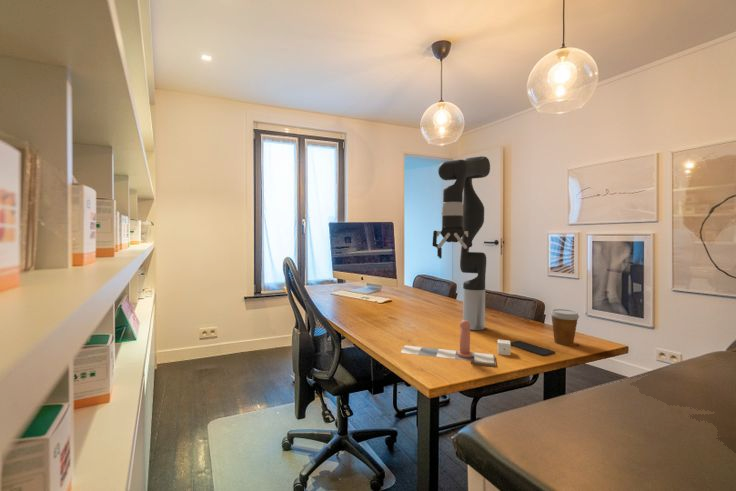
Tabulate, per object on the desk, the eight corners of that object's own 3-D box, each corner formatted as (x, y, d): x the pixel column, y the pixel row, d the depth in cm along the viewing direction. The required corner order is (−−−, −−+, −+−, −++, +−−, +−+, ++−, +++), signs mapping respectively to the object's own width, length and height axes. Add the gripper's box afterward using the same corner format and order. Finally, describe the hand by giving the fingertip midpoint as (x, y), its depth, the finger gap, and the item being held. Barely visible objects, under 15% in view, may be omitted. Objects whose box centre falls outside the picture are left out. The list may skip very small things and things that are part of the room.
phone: (518, 340, 134) (556, 351, 121) (518, 342, 134) (556, 353, 121) (506, 343, 130) (543, 355, 117) (506, 345, 130) (543, 357, 117)
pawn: (457, 352, 118) (458, 317, 117) (472, 353, 116) (472, 318, 116) (456, 357, 113) (457, 321, 113) (472, 358, 112) (472, 322, 111)
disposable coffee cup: (580, 342, 132) (581, 311, 132) (574, 348, 125) (575, 315, 125) (553, 337, 139) (554, 307, 138) (546, 342, 132) (547, 311, 131)
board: (403, 347, 126) (403, 344, 126) (494, 357, 116) (494, 354, 116) (398, 355, 117) (398, 353, 117) (496, 366, 108) (496, 363, 108)
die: (497, 350, 123) (497, 339, 123) (509, 351, 122) (509, 340, 122) (497, 354, 119) (498, 342, 119) (510, 355, 118) (510, 343, 118)
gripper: (472, 215, 130) (472, 258, 130) (434, 215, 134) (433, 257, 134) (472, 214, 122) (471, 259, 123) (431, 214, 127) (431, 258, 127)
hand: (452, 258), depth 129 cm, fingers open, 8 cm apart
